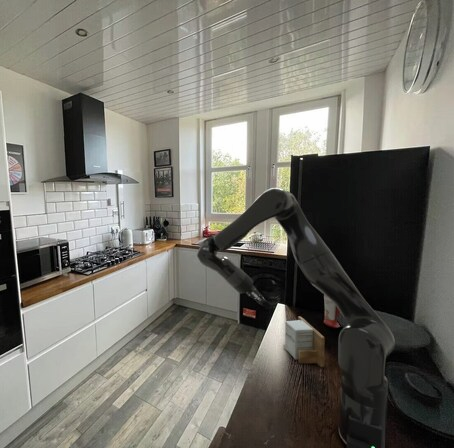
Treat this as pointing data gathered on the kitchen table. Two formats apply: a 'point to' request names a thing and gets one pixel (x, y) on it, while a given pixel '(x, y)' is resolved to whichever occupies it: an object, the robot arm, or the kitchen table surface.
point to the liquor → (331, 313)
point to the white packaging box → (298, 337)
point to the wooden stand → (318, 348)
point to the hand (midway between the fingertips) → (269, 307)
